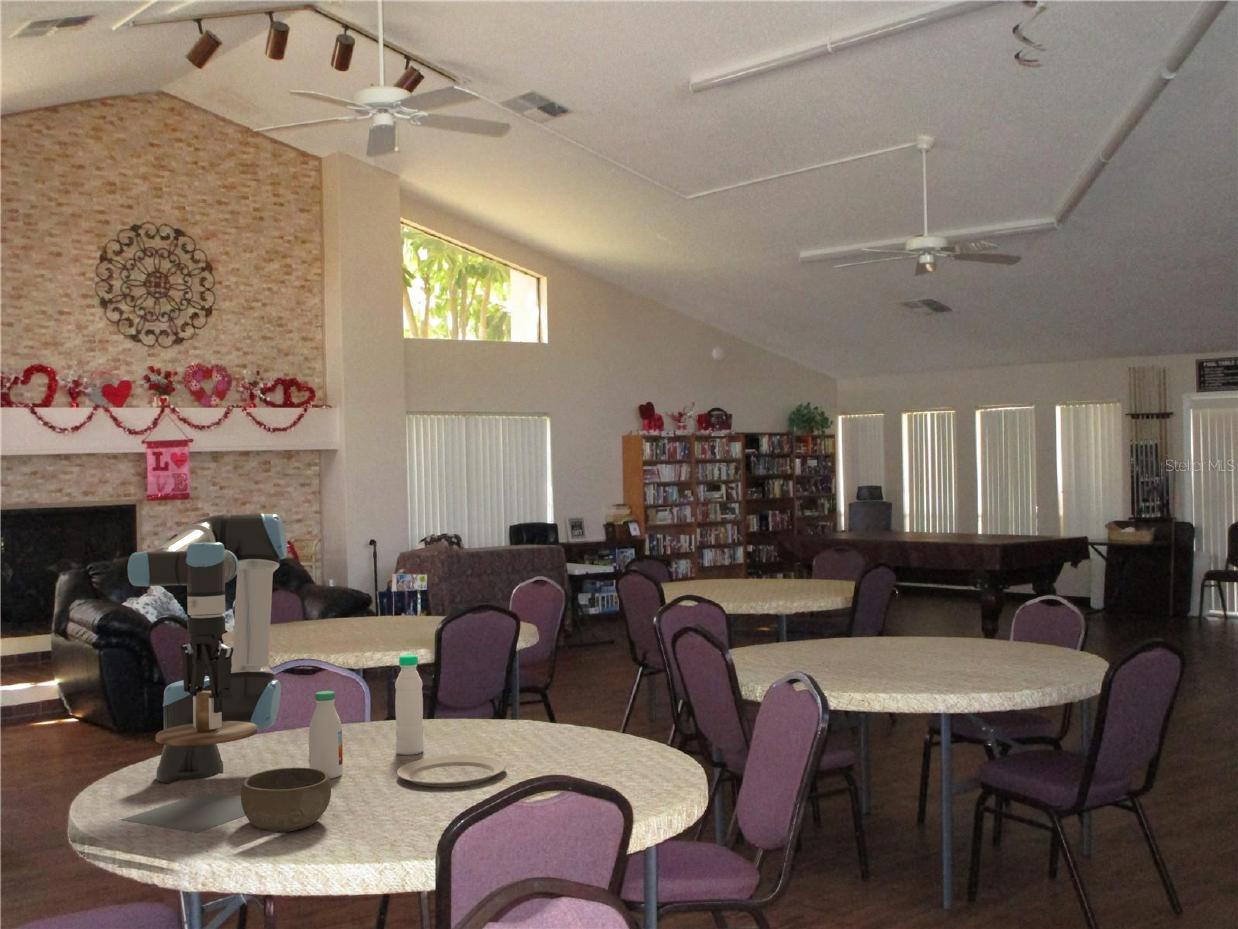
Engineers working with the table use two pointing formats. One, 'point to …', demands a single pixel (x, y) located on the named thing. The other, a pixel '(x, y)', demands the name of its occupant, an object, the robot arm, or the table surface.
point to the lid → (205, 729)
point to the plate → (454, 760)
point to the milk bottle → (326, 736)
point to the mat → (193, 813)
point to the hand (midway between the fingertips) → (207, 727)
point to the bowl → (285, 798)
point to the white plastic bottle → (409, 708)
